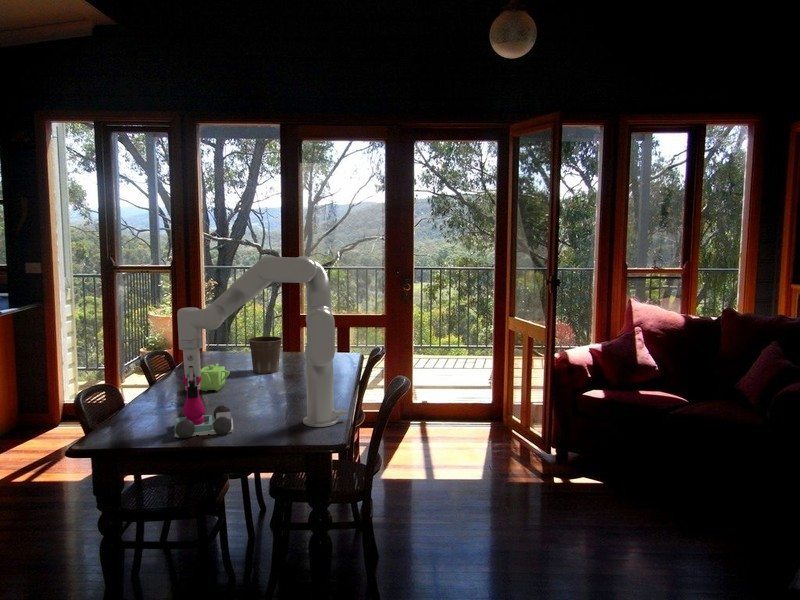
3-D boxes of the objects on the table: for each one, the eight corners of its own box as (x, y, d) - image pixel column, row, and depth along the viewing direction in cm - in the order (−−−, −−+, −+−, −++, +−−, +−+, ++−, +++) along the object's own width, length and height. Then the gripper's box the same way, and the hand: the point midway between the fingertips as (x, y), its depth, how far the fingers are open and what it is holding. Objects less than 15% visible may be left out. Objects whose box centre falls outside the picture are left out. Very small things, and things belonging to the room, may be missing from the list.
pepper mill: (184, 427, 214) (181, 369, 211) (182, 421, 220) (179, 365, 218) (206, 424, 217) (203, 367, 214) (204, 418, 223) (201, 363, 221)
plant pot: (287, 367, 314) (286, 336, 313) (277, 375, 298) (276, 341, 297) (255, 367, 316) (254, 335, 314) (244, 374, 300) (243, 341, 298)
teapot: (205, 395, 264) (204, 370, 262) (188, 390, 272) (186, 366, 271) (236, 388, 275) (235, 364, 274) (218, 383, 284) (217, 360, 283)
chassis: (232, 419, 230) (231, 403, 229) (233, 433, 214) (232, 416, 214) (177, 424, 225) (176, 408, 224) (174, 439, 209) (173, 421, 209)
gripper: (201, 347, 208) (204, 401, 210) (202, 339, 224) (205, 388, 226) (177, 349, 206) (180, 403, 208) (180, 340, 222) (183, 390, 224)
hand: (193, 395), depth 217 cm, fingers closed on pepper mill, 5 cm apart
